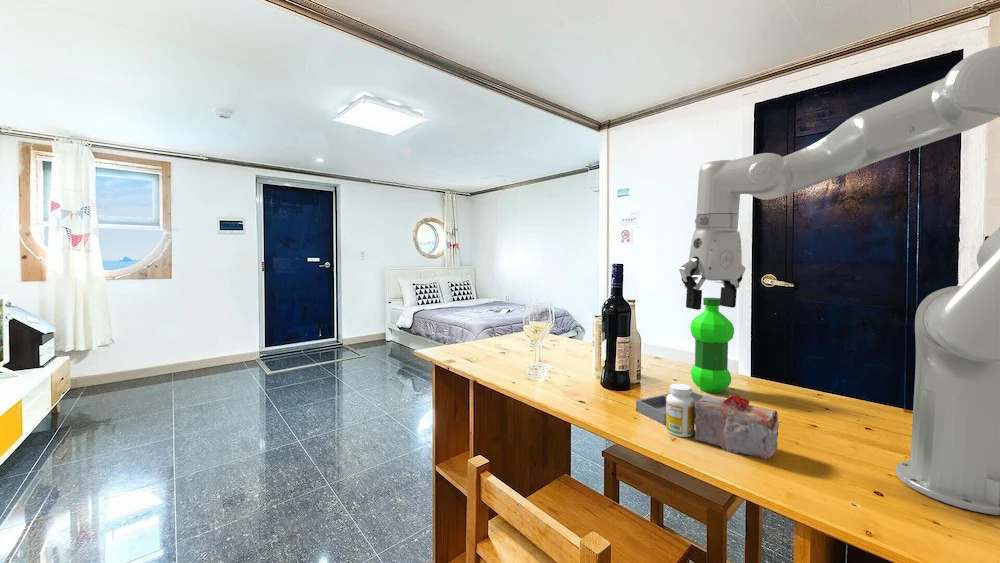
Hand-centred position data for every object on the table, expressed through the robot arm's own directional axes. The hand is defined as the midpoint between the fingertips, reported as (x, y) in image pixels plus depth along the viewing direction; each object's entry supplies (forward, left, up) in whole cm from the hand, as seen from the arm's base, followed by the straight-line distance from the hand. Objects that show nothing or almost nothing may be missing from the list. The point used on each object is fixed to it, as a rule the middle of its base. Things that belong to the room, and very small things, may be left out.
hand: (710, 307), depth 80 cm
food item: (-7, +2, -26) cm, 27 cm away
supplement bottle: (+2, +6, -26) cm, 27 cm away
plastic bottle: (+17, -22, -26) cm, 38 cm away
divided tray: (+10, -2, -26) cm, 28 cm away
